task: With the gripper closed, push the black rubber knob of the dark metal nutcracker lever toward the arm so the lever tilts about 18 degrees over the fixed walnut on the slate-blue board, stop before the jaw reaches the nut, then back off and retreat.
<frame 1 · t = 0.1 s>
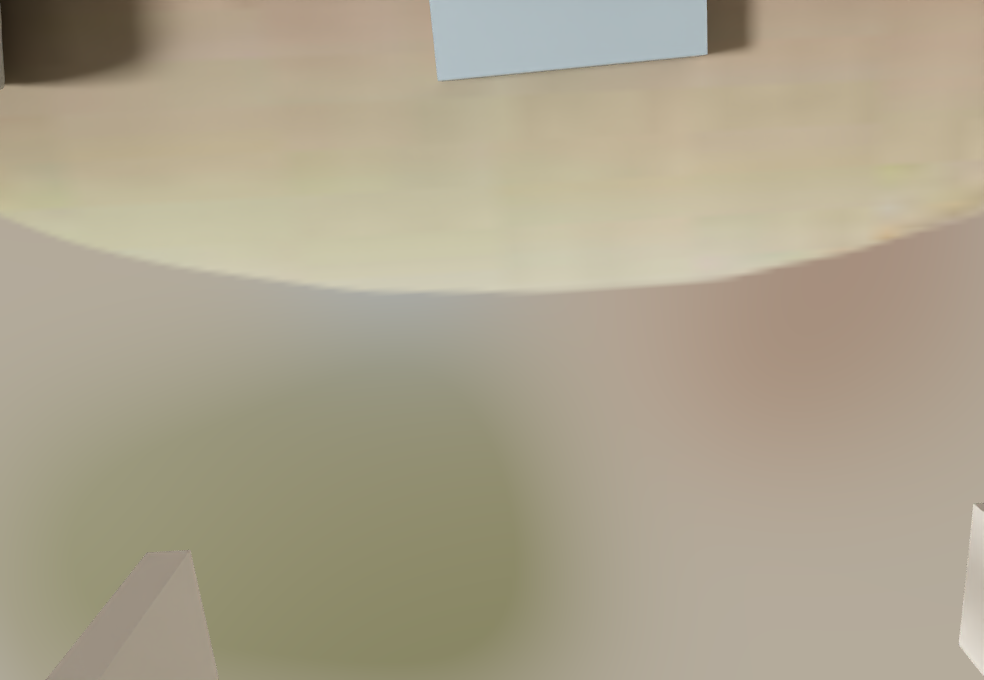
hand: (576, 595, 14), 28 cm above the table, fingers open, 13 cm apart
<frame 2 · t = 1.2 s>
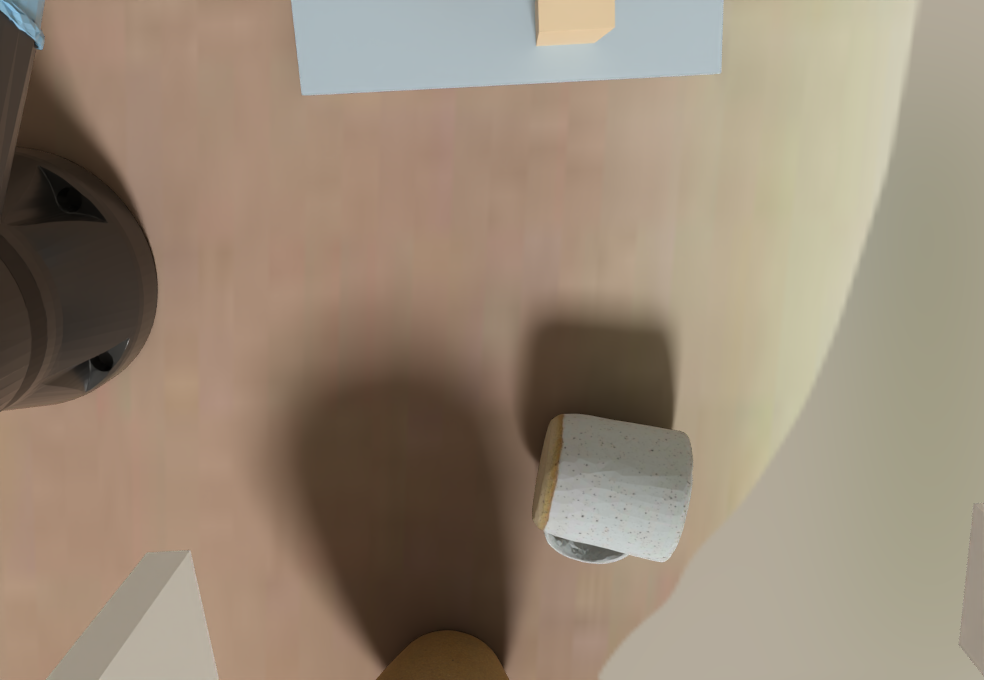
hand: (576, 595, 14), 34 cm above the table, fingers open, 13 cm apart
ceramic mug: (603, 474, 51), on the table
plant pot: (446, 670, 56), on the table
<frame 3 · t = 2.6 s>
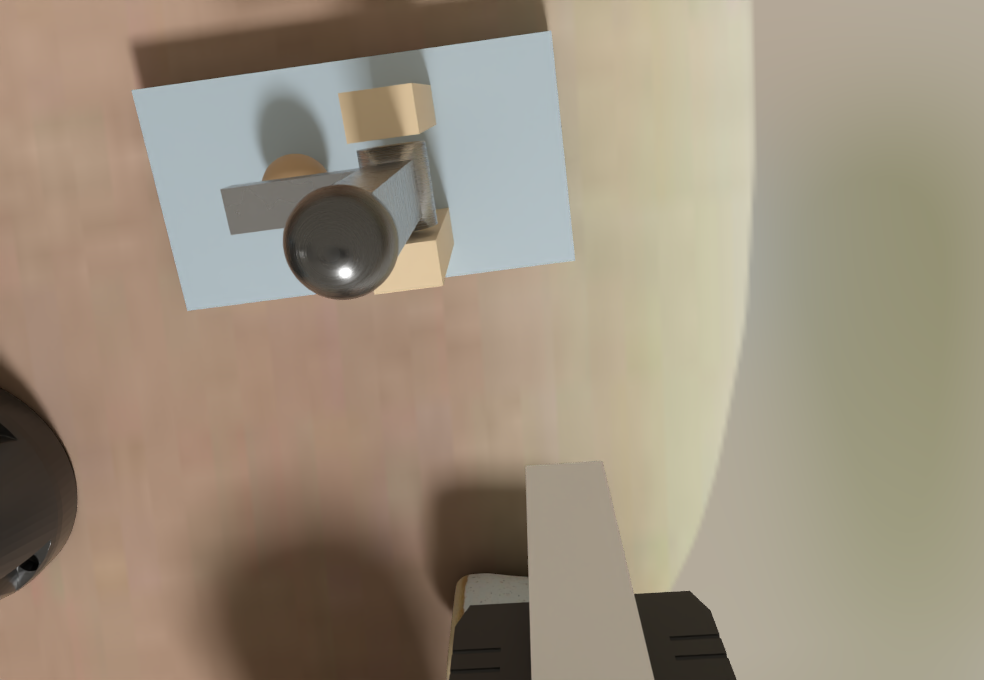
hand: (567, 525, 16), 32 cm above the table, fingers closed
ceramic mug: (516, 617, 54), on the table
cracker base: (365, 174, 45), on the table
lever: (295, 219, 29), point 17 cm above the table, hinge at 0.0°
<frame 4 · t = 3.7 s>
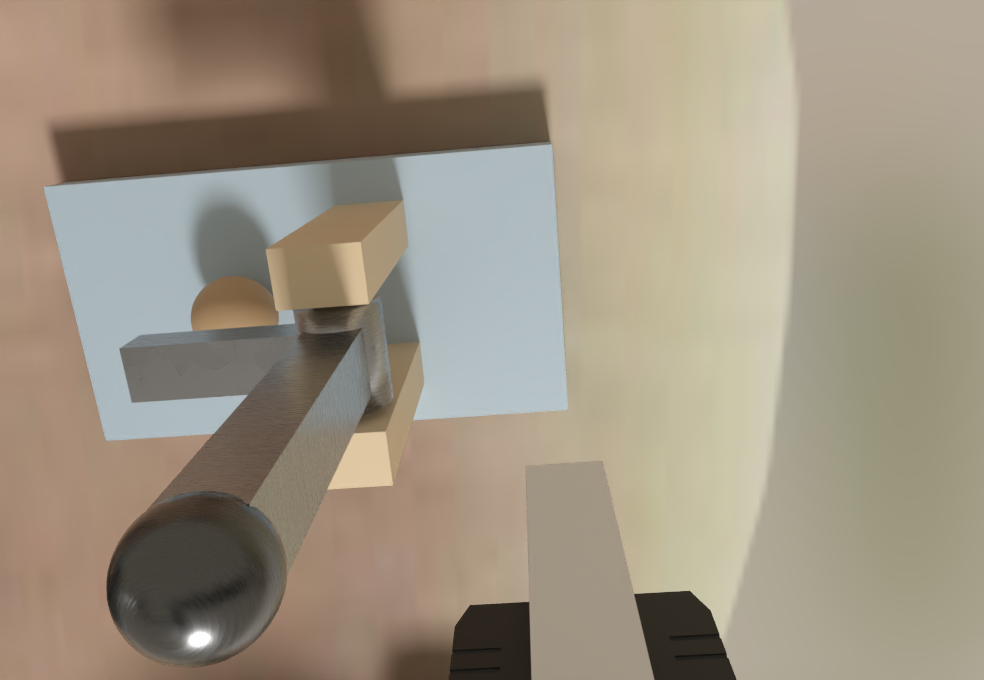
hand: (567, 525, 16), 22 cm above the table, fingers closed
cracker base: (324, 291, 38), on the table
lever: (186, 439, 22), point 17 cm above the table, hinge at 0.0°
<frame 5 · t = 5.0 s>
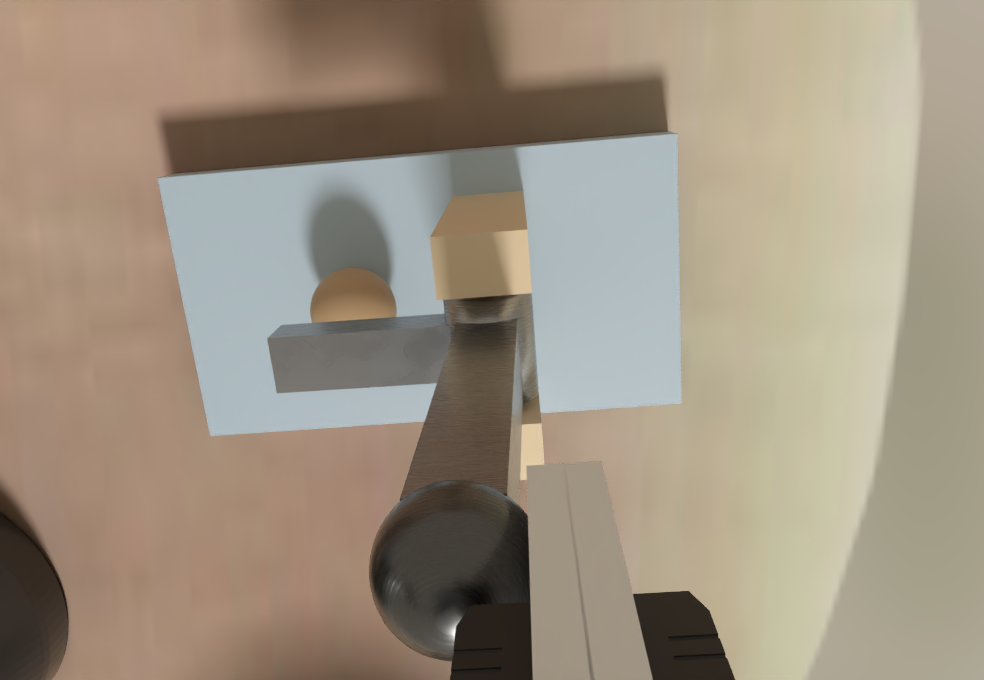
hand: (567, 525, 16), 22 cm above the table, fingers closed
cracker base: (432, 284, 37), on the table
lever: (369, 429, 21), point 17 cm above the table, hinge at 1.3°, touching gripper
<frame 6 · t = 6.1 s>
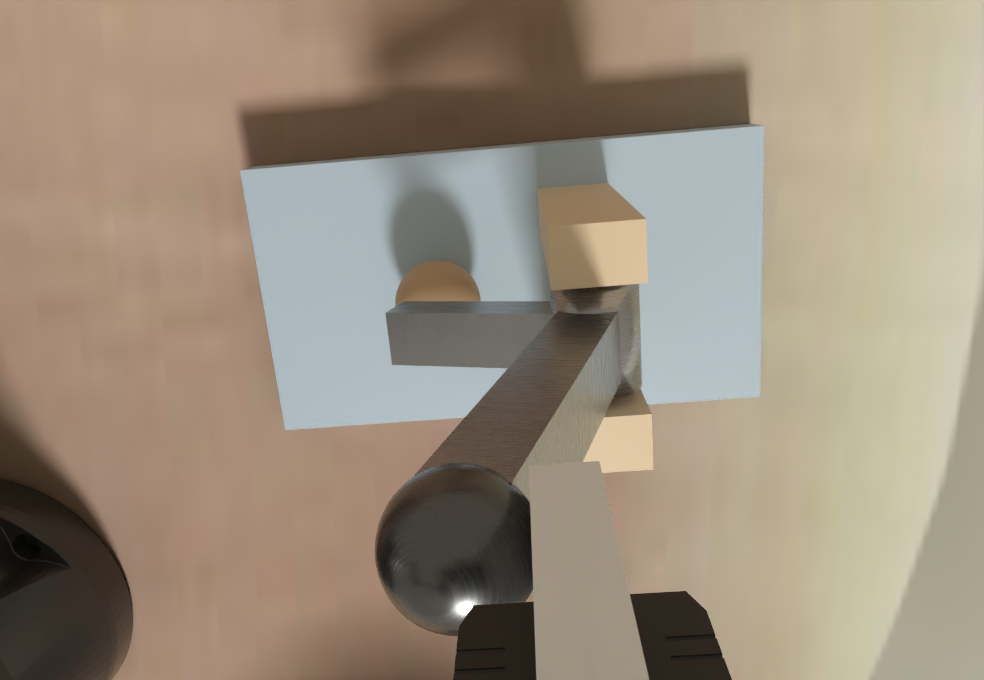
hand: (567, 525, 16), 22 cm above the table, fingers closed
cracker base: (509, 277, 37), on the table
lever: (444, 407, 22), point 16 cm above the table, hinge at 17.0°, touching gripper
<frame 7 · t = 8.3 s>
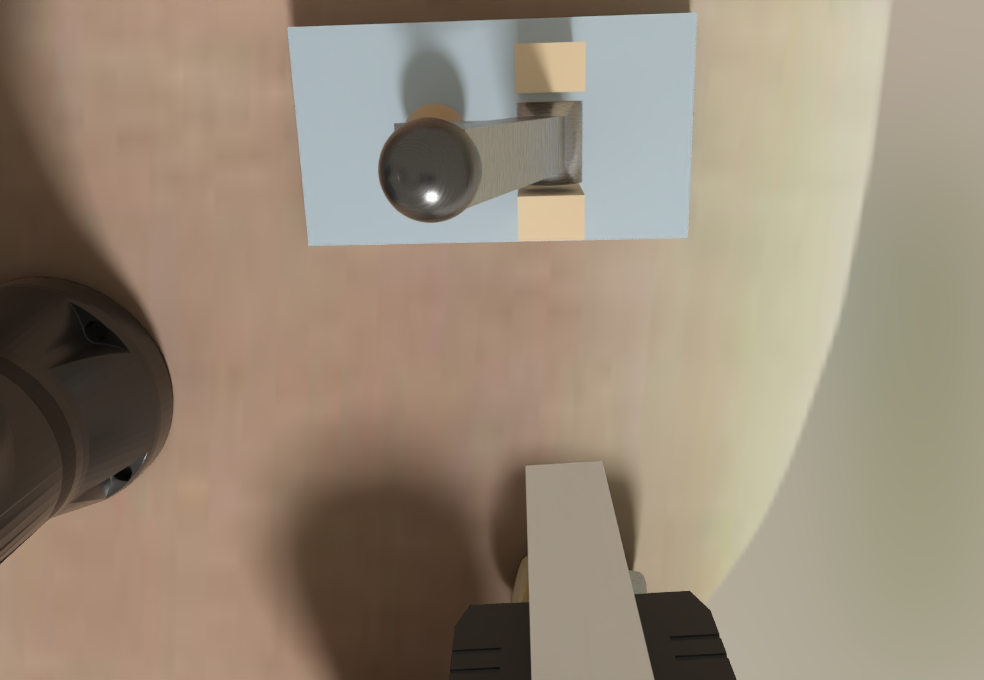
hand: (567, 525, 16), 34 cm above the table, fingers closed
ceramic mug: (570, 600, 56), on the table
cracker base: (494, 133, 47), on the table
lever: (431, 154, 32), point 16 cm above the table, hinge at 17.0°
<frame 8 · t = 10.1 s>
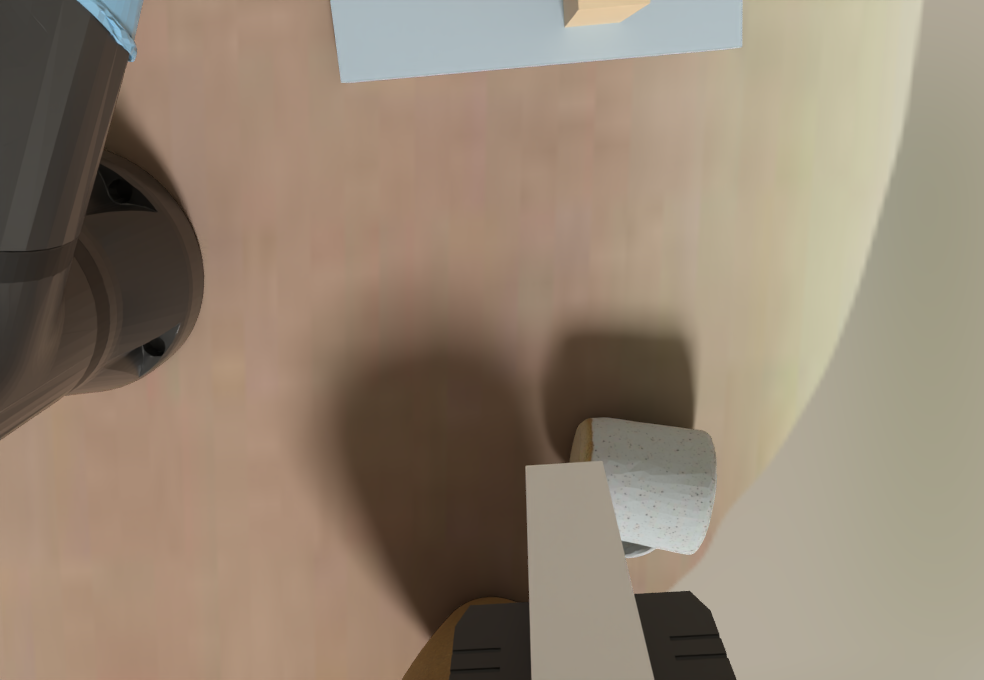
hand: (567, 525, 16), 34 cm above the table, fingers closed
ceramic mug: (628, 473, 54), on the table
plant pot: (490, 636, 58), on the table
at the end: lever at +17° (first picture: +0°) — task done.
